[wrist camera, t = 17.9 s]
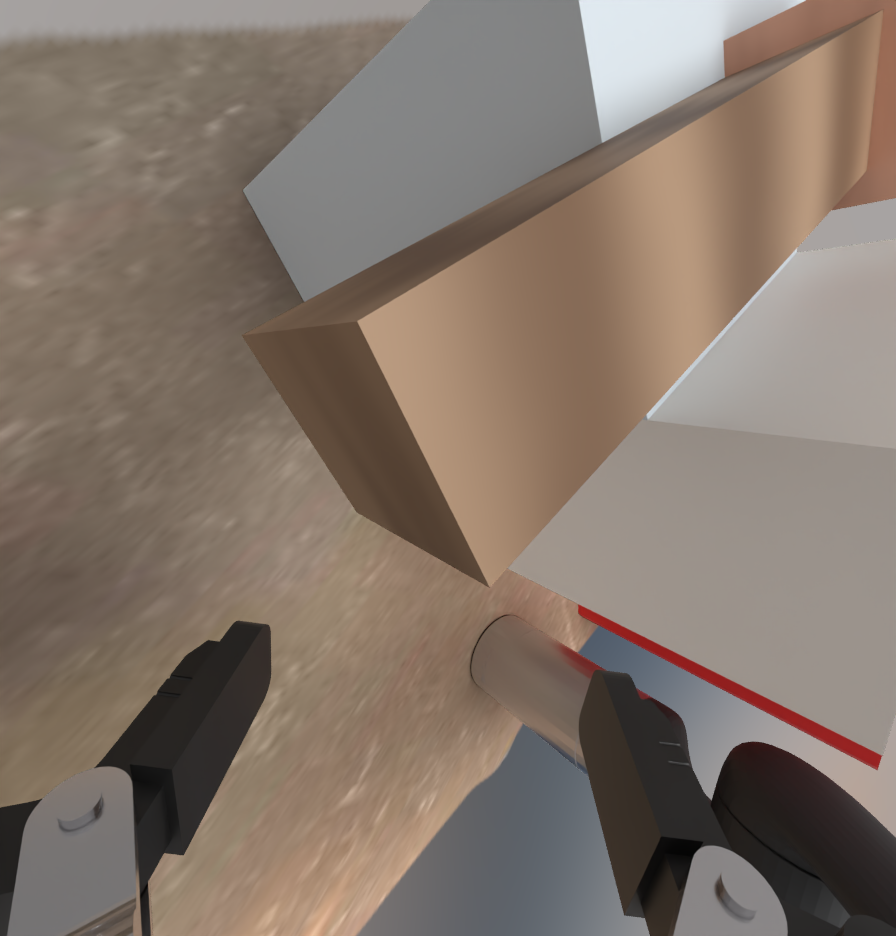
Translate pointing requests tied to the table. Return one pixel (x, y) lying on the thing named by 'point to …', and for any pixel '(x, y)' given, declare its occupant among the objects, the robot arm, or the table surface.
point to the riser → (700, 387)
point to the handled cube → (583, 291)
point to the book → (741, 692)
